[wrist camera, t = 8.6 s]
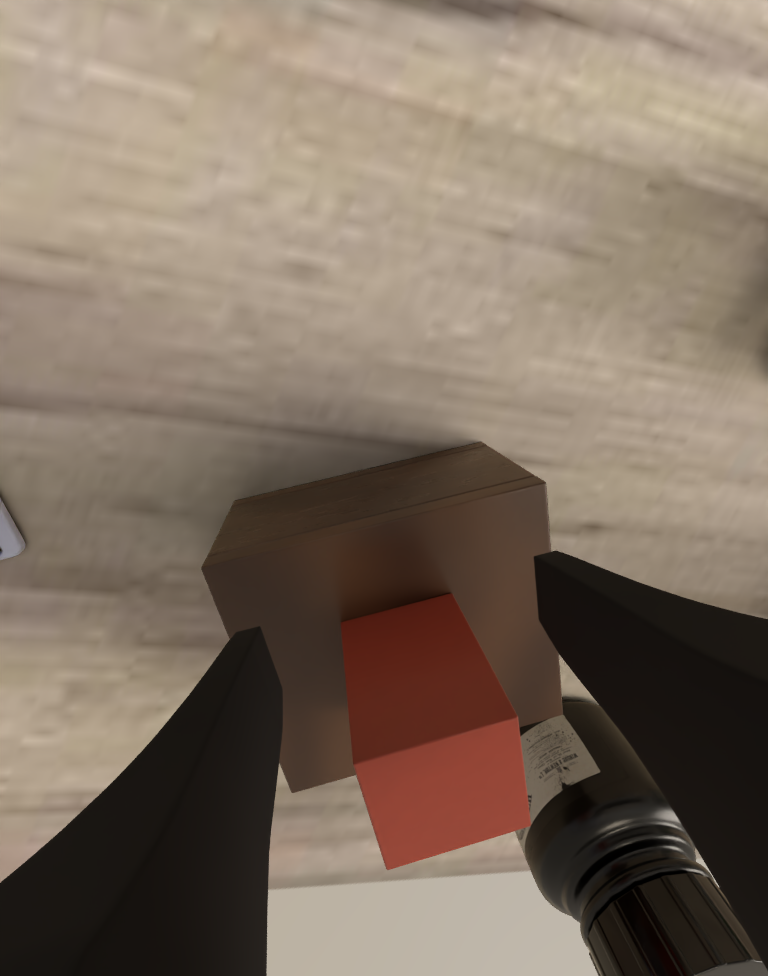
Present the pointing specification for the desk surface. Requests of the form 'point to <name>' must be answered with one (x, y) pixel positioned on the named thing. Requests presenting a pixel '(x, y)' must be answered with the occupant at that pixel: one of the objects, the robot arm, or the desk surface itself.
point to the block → (430, 732)
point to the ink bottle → (622, 856)
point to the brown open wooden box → (386, 582)
